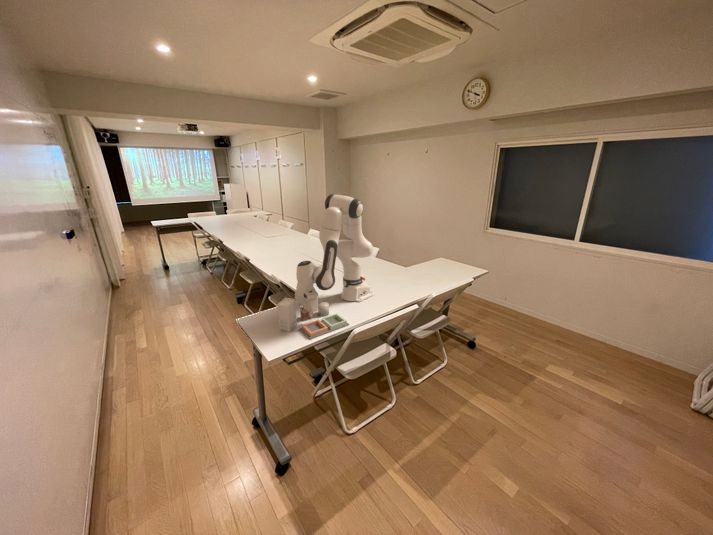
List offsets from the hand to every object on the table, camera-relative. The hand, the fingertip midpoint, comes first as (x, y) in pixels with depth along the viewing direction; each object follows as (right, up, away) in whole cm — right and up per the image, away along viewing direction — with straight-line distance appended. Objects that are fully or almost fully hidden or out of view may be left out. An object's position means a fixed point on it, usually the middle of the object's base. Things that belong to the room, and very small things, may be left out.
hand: (306, 312), depth 154 cm
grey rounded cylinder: (+9, -2, +8) cm, 12 cm away
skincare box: (-8, -7, -7) cm, 13 cm away
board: (+11, -7, -6) cm, 14 cm away
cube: (-1, -4, +3) cm, 4 cm away
